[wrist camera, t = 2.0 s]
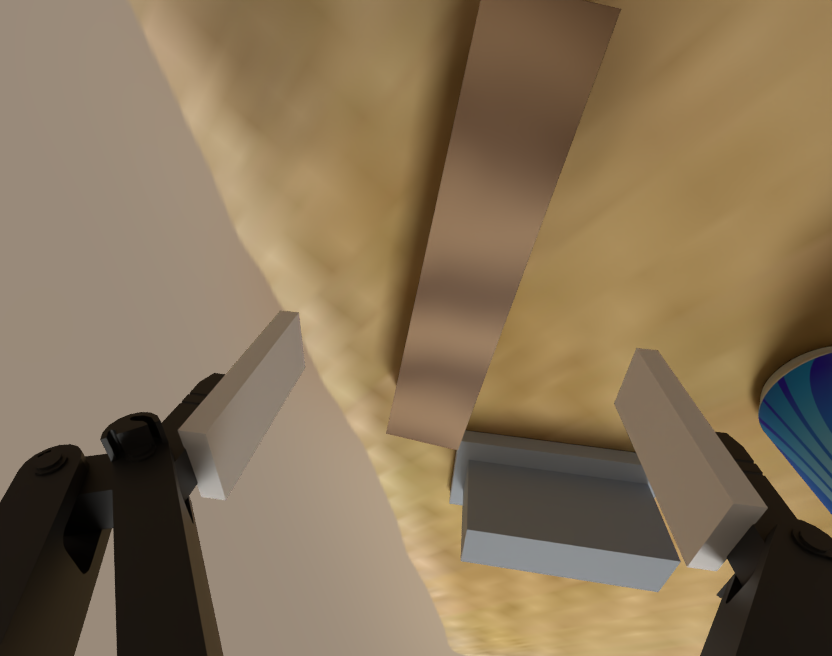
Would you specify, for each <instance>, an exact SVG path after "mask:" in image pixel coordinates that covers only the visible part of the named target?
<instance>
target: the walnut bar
mask: <svg viewBox="0 0 832 656" xmlns="http://www.w3.org/2000/svg"><path fill="white" fill-rule="evenodd" d="M620 11H621V9H619V8H615V7H610V6H606V5H602V4H597V3H593V2H588V1H584V0H480V5H479V10H478V14H477V19H476V23H475V28H474V33H473V37H472V42H471V46H470V51H469V56H468V60H467V65H466V69H465V74H464V78H463V83H462V88H461V92H460V97H459V101H458V106H457V111H456V115H455V120H454V124H453V129H452V134H451V138H450V143H449V147H448V152H447V156H446V161H445V166H444V170H443V175H442V179H441V184H440V189H439V193H438V198H437V202H436V207H435V212H434V216H433V221H432V225H431V230H430V234H429V239H428V244H427V248H426V253H425V257H424V262H423V267H422V271H421V276H420V280H419V285H418V290H417V294H416V299H415V303H414V308H413V312H412V317H411V322H410V326H409V331H408V335H407V340H406V345H405V349H404V354H403V358H402V363H401V368H400V372H399V377H398V381H397V386H396V390H395V395H394V400H393V404H392V409H391V413H390V418H389V423H388V427H387V432H386V434H391V435H395V436H399V437H403V438H407V439H412V440H416V441H420V442H424V443H429V444H433V445H437V446H441V447H446V448H450V449H454V450H458V449H459V446H460V443H461V441H462V438H463V435H464V432H465V430H466V427H467V424H468V422H469V419H470V416H471V414H472V411H473V408H474V405H475V403H476V400H477V397H478V395H479V392H480V389H481V387H482V384H483V381H484V378H485V376H486V373H487V370H488V368H489V365H490V362H491V360H492V357H493V354H494V351H495V349H496V346H497V343H498V341H499V338H500V335H501V333H502V330H503V327H504V324H505V322H506V319H507V316H508V314H509V311H510V308H511V305H512V303H513V300H514V297H515V295H516V292H517V289H518V287H519V284H520V281H521V278H522V276H523V273H524V270H525V268H526V265H527V262H528V260H529V257H530V254H531V251H532V249H533V246H534V243H535V241H536V238H537V235H538V233H539V230H540V227H541V224H542V222H543V219H544V216H545V214H546V211H547V208H548V206H549V203H550V200H551V197H552V195H553V192H554V189H555V187H556V184H557V181H558V179H559V176H560V173H561V170H562V168H563V165H564V162H565V160H566V157H567V154H568V152H569V149H570V146H571V143H572V141H573V138H574V135H575V133H576V130H577V127H578V125H579V122H580V119H581V116H582V114H583V111H584V108H585V106H586V103H587V100H588V97H589V95H590V92H591V89H592V87H593V84H594V81H595V79H596V76H597V73H598V70H599V68H600V65H601V62H602V60H603V57H604V54H605V52H606V49H607V46H608V43H609V41H610V38H611V35H612V33H613V30H614V27H615V25H616V22H617V19H618V16H619V14H620Z"/></svg>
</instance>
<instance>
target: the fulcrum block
mask: <svg viewBox="0 0 832 656" xmlns="http://www.w3.org/2000/svg"><path fill="white" fill-rule="evenodd" d="M654 498H655V494H654V492H653V489H652V487H651V485H650V483H649V480H648V478H647V476H646V474H645V471H644V469H643V467H642V465H641V462H640V460H639V458H638V456H637V453H635V452H627V451H620V450H612V449H604V448H597V447H589V446H581V445H574V444H566V443H558V442H551V441H543V440H535V439H528V438H520V437H512V436H505V435H497V434H489V433H481V432H474V431H466V430H465V432H464V435H463V438H462V441H461V443H460V446H459V449H458V450H456V456H455V463H454V470H453V477H452V483H451V490H450V504H457V505H463V510H462V539H461V561H464V562H470V563H477V564H483V565H489V566H496V567H502V568H508V569H515V570H521V571H527V572H534V573H540V574H546V575H553V576H559V577H565V578H572V579H578V580H584V581H591V582H597V583H603V584H610V585H616V586H622V587H629V588H635V589H642V590H648V591H654V592H659V590H660V589H661V588H662V586H663V585H664V584H665V582H666V581H667V580H668V578H669V577H670V576H671V574H672V573H673V571H674V570H675V569H676V567H677V566H678V565H679V563H680V562H681V561H680V559H679V557H678V554H677V552H676V549H675V547H674V545H673V542H672V540H671V538H670V535H669V533H668V530H667V528H666V526H665V523H664V521H663V519H662V516H661V514H660V511H659V509H658V507H657V504H656V502H655V500H654Z"/></svg>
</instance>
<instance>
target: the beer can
mask: <svg viewBox="0 0 832 656" xmlns="http://www.w3.org/2000/svg"><path fill="white" fill-rule="evenodd" d="M758 418H759V423H760V425H761V427H762V429H763V431H764V432H765V433H766V434H767V436H768V437H769V438H770V439H771V441H772V442H773V443H774V444H775V445H776V447H777V448H778V449H779V450H780V452H781V453H782V454H783V455H784V456H785V458H786V459H787V460H788V461H789V463H790V464H791V465H792V466H793V468H794V469H795V470H796V471H797V472H798V474H799V475H800V476H801V477H802V479H803V480H804V481H805V482H806V483H807V485H808V486H809V487H810V488H811V490H812V491H813V492H814V493H815V495H816V496H817V497H818V498H819V499H820V501H821V502H822V503H823V504H824V506H825V507H826V508H827V509H828V510H829V512H830V513H831V514H832V346H831V347H825V348H821V349H817V350H813V351H810V352H808V353H805V354H803V355H800V356H798V357H796V358H794V359H792V360H791V361H789V362H787V363H786V364H784V365H783V366H782V367H780V368H779V369H778V370H777V371H776V372H774V373H773V374H772V375H771V377H770V378H769V379H768V380H767V382H766V383H765V385H764V387H763V389H762V392H761V397H760V406H759V411H758Z"/></svg>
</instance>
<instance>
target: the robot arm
mask: <svg viewBox="0 0 832 656" xmlns="http://www.w3.org/2000/svg"><path fill="white" fill-rule="evenodd" d="M304 369H305V361H304V353H303V344H302V335H301V327H300V318H299V312H289V311H280V312H279V313H278V314H277V315H276V316H275V318H274V319H273V320H272V321H271V322H270V323H269V325H268V326H267V327H266V328H265V329H264V330H263V331H262V333H261V334H260V335H259V336H258V337H257V339H256V340H255V341H254V342H253V343H252V344H251V345H250V347H249V348H248V349H247V350H246V351H245V352H244V354H243V355H242V356H241V357H240V358H239V360H238V361H237V362H236V363H235V364H234V365H233V367H232V368H231V369H230V370H229V371H228V372H227V373H226V374H218V373H214V374H212V375H210V376H209V377H207V378H205V379H204V380H202V381H200V382H199V383H198V384H197V385H196V386H195V388H194V389H193V390H192V391H191V392H190V395H189V394H188V395H187V396H186V397H185V398H184V400H183V401H182V403H180V404H179V405H178V406H177V407H176V408H175V409H174V410H173V411H172V412H171V414H170V415H169V416H168V417H167V418H166V419H165V420H164V421H163V422H162V423H161V421H160V419H159V418H158V416H157V415H155V414H152V413H148V412H140V413H135V414H130V415H127V416H125V417H122V418H120V419H118V420H116V421H115V422H114V423H112V424H110V425H109V426H108V427H107V428H106V429H105V431H104V432H103V433H102V436H101V439H100V440H101V442H102V444H103V446H104V448H105V450H106V452H107V454H102V455H94V456H86V457H85V456H84V454H83V453H82V451H81V450H80V448H79V447H78V446H75V445H71V444H69V445H58V446H55V447H52V448H48V449H46V450H44V451H42V452H40V453H38V454H36V455H34V456H33V457H32V458H30V459H29V460H28V461H26V462H25V463H24V464H23V466H22V467H21V468H20V469H19V471H18V472H17V474H16V476H15V478H14V479H13V481H12V483H11V485H10V486H9V488H8V490H7V492H6V493H5V495H4V497H3V498H2V500H1V502H0V656H74V654H75V651H76V647H77V644H78V641H79V637H80V634H81V631H82V627H83V624H84V620H85V617H86V614H87V610H88V607H89V603H90V600H91V597H92V593H93V590H94V587H95V583H96V580H97V577H98V573H99V570H100V566H101V563H102V560H103V556H104V553H105V550H106V546H107V543H108V539H109V536H110V532H111V529H112V528H113V529H114V562H115V564H114V565H115V598H116V629H117V630H116V633H117V656H223V652H222V647H221V642H220V637H219V632H218V628H217V623H216V618H215V613H214V608H213V604H212V599H211V594H210V589H209V585H208V580H207V575H206V570H205V566H204V561H203V556H202V551H201V546H200V541H199V537H198V532H197V527H196V522H195V517H194V513H193V508H192V503H191V500H190V497H189V495H190V494H191V492H192V491H193V489H194V488H195V486H196V485H198V488H199V491H200V494H201V497H206V498H213V499H220V500H227V498H228V496H229V494H230V493H231V491H232V489H233V488H234V486H235V484H236V483H237V481H238V479H239V478H240V476H241V474H242V473H243V471H244V469H245V468H246V466H247V464H248V463H249V461H250V459H251V458H252V456H253V454H254V453H255V451H256V449H257V448H258V446H259V444H260V442H261V441H262V439H263V437H264V435H265V434H266V432H267V431H268V429H269V427H270V426H271V424H272V422H273V421H274V419H275V417H276V416H277V414H278V412H279V411H280V409H281V407H282V406H283V404H284V402H285V401H286V399H287V397H288V396H289V394H290V392H291V390H292V389H293V387H294V386H295V384H296V382H297V381H298V379H299V377H300V375H301V374H302V372H303V370H304ZM614 404H615V406H616V409H617V411H618V413H619V415H620V418H621V420H622V422H623V424H624V427H625V429H626V431H627V433H628V436H629V438H630V440H631V442H632V445H633V447H634V449H635V451H636V453H637V456H638V458H639V460H640V462H641V465H642V467H643V469H644V471H645V474H646V476H647V478H648V480H649V483H650V485H651V487H652V489H653V492H654V494H655V496H656V498H657V501H658V503H659V505H660V507H661V510H662V512H663V514H664V516H665V519H666V521H667V523H668V525H669V527H670V530H671V532H672V534H673V536H674V539H675V541H676V543H677V545H678V548H679V550H680V552H681V554H682V557H683V559H684V561H685V563H686V566H687V567H691V568H698V569H705V570H711V571H717V570H718V569H719V568H720V567H721V565H722V564H723V563H724V562H725V560H726V559H728V561H729V563H730V565H731V566H732V568H733V570H734V572H735V574H734V575H733V576H732V577H731V578H730V580H729V581H728V582H727V583H726V584H725V585H724V587H723V588H722V589H721V590H720V591H719V592H718V594H717V596H719V597H720V598H722V600H721V603H720V605H719V608H718V610H717V613H716V616H715V618H714V621H713V624H712V626H711V629H710V631H709V634H708V637H707V639H706V642H705V644H704V647H703V650H702V652H701V655H700V656H832V538H831V537H830V536H829V535H828V534H826V533H825V532H823V531H822V530H820V529H819V528H817V527H816V526H813V525H811V524H809V523H807V522H805V521H802V520H798V519H797V518H796V517H795V515H794V514H793V513H792V511H791V510H790V509H789V507H788V506H787V505H786V503H785V502H784V501H783V499H782V498H781V497H780V495H779V494H778V493H777V491H776V490H775V489H774V487H773V486H772V485H771V483H770V482H769V481H768V479H767V478H766V477H765V476H763V475H762V471H761V470H760V469H759V467H758V466H757V465H756V464H754V461H753V459H752V458H751V457H750V455H749V454H748V453H747V451H746V450H745V449H744V447H743V446H742V445H740V444H739V443H738V442H737V441H736V440H734V439H733V438H732V437H731V436H729V435H728V434H727V433H721V432H715V431H714V430H713V429H712V427H711V426H710V424H709V423H708V421H707V420H706V419H705V417H704V416H703V414H702V413H701V411H700V410H699V409H698V407H697V406H696V404H695V403H694V401H693V400H692V399H691V397H690V396H689V394H688V393H687V392H686V390H685V389H684V387H683V386H682V384H681V383H680V382H679V380H678V379H677V377H676V376H675V374H674V373H673V372H672V370H671V369H670V367H669V366H668V364H667V363H666V362H665V360H664V359H663V357H662V356H661V354H660V353H659V352H658V350H650V349H641V348H636V351H635V353H634V356H633V358H632V360H631V363H630V365H629V368H628V370H627V373H626V375H625V378H624V380H623V383H622V385H621V388H620V390H619V393H618V395H617V398H616V400H615V403H614Z"/></svg>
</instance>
